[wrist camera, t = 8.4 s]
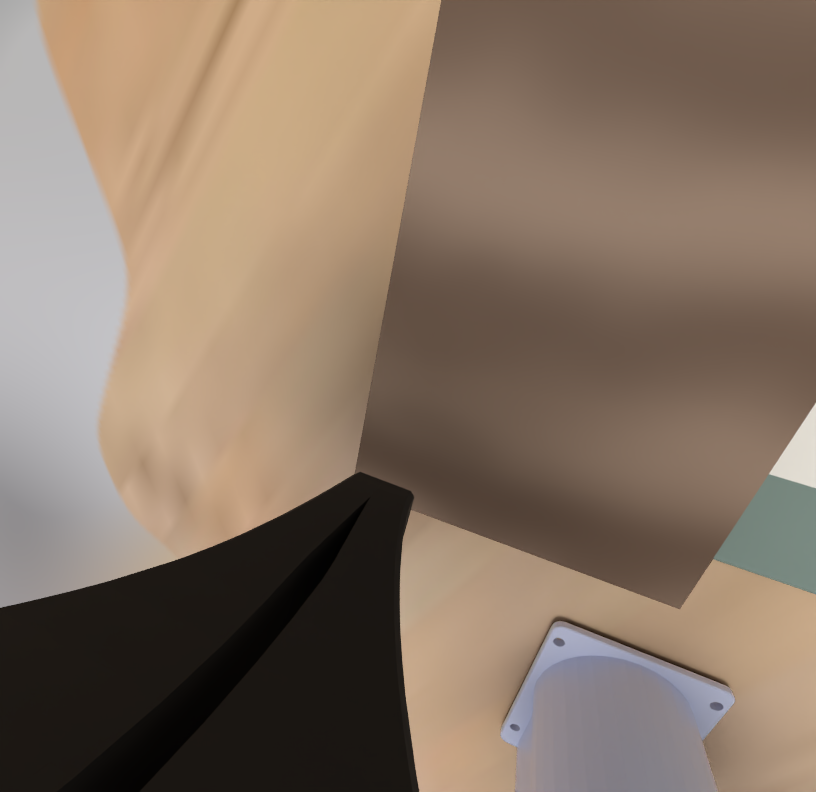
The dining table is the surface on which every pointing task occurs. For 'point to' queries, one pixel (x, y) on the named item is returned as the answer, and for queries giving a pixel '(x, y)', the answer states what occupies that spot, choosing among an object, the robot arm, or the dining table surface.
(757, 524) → the mat
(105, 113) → the dining table surface
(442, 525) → the dining table surface
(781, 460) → the flat white box
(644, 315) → the plate
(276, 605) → the robot arm
